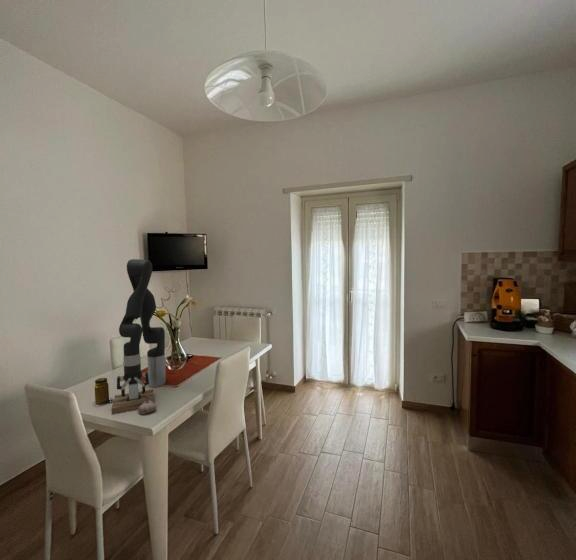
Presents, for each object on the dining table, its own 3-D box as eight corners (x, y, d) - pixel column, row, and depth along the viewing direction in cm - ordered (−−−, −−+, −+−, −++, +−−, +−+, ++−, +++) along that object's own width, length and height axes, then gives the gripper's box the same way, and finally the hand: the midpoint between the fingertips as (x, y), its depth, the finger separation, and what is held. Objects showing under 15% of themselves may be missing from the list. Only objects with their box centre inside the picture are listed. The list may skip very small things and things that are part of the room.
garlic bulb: (159, 409, 149) (158, 393, 148) (148, 416, 142) (148, 399, 141) (145, 407, 151) (145, 391, 150) (134, 414, 144) (134, 398, 143)
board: (115, 401, 158) (115, 395, 158) (153, 394, 165) (153, 389, 165) (111, 414, 144) (111, 408, 144) (153, 406, 151) (153, 400, 151)
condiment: (93, 402, 157) (92, 379, 157) (112, 397, 163) (111, 375, 162) (95, 407, 152) (94, 383, 151) (115, 402, 157) (114, 379, 156)
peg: (129, 402, 156) (128, 382, 155) (138, 400, 157) (138, 381, 157) (129, 405, 152) (128, 385, 151) (138, 403, 153) (137, 384, 153)
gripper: (148, 358, 160) (149, 389, 161) (116, 362, 154) (118, 394, 155) (147, 363, 153) (149, 395, 154) (115, 367, 147) (116, 400, 148)
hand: (133, 394), depth 154 cm, fingers open, 8 cm apart
